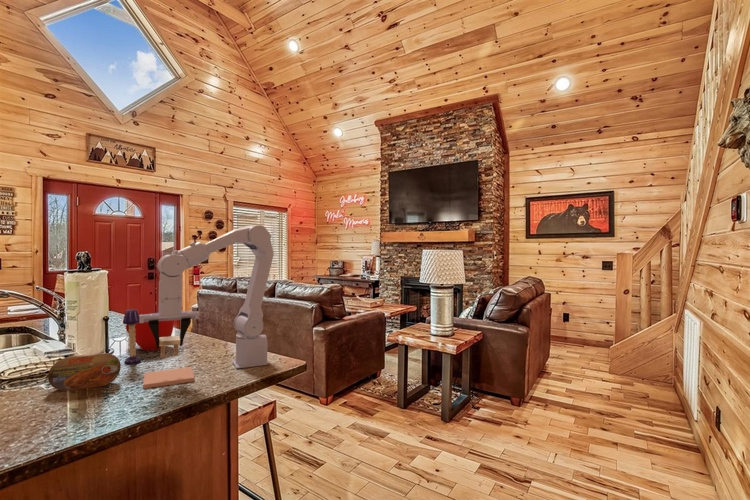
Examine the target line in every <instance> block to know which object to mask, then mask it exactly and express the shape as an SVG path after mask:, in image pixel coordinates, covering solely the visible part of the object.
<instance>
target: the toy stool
mask: <svg viewBox="0 0 750 500" xmlns="http://www.w3.org/2000/svg"><path fill="white" fill-rule="evenodd" d="M159 346H161V349H160V358H166V347H167V346H173V356H174V357H178V356H179V346H180V335H173V336H172V335H171V336H170V337H159Z"/></svg>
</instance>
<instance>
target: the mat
mask: <svg viewBox="0 0 750 500" xmlns="http://www.w3.org/2000/svg"><path fill="white" fill-rule="evenodd" d="M143 376H144V377H143V384H142V386H143V387H142V388H143V389H150V388H155V387H164V386H170V385H176V384H182V383H183V384H185V383H193V382H195V375H194V371H193V367H192V366H188V367H180V368H172V369H170V368H169V369H164V370H155V371H148V372H144V375H143Z"/></svg>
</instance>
